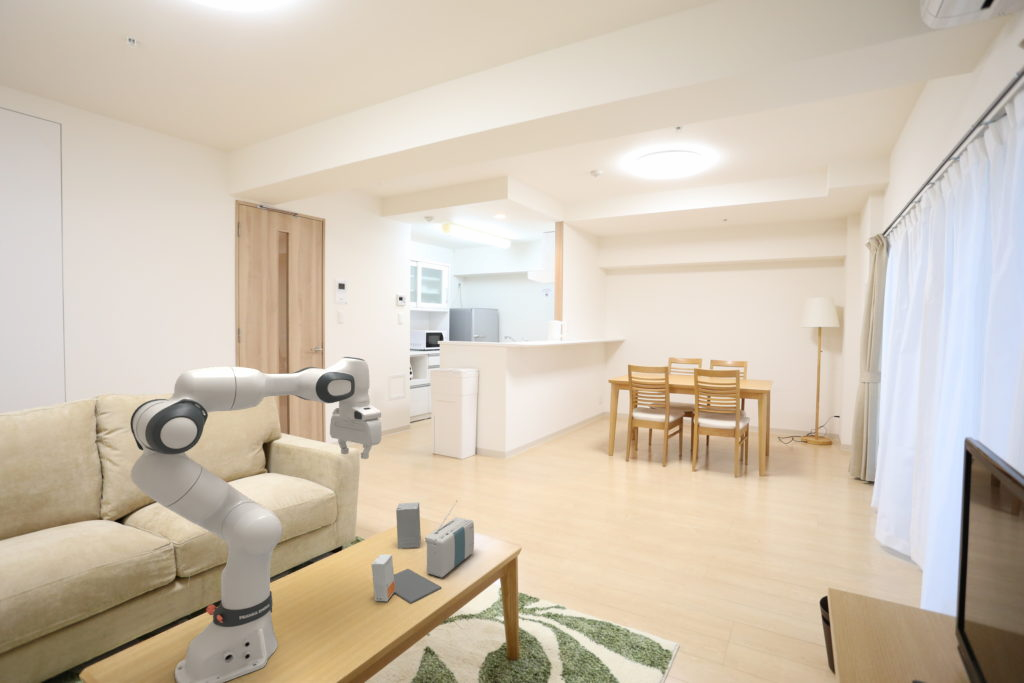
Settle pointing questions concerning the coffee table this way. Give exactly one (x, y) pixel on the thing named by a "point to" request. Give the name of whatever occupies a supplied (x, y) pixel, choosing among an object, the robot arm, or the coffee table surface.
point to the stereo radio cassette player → (449, 545)
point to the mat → (413, 586)
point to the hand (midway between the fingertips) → (354, 456)
